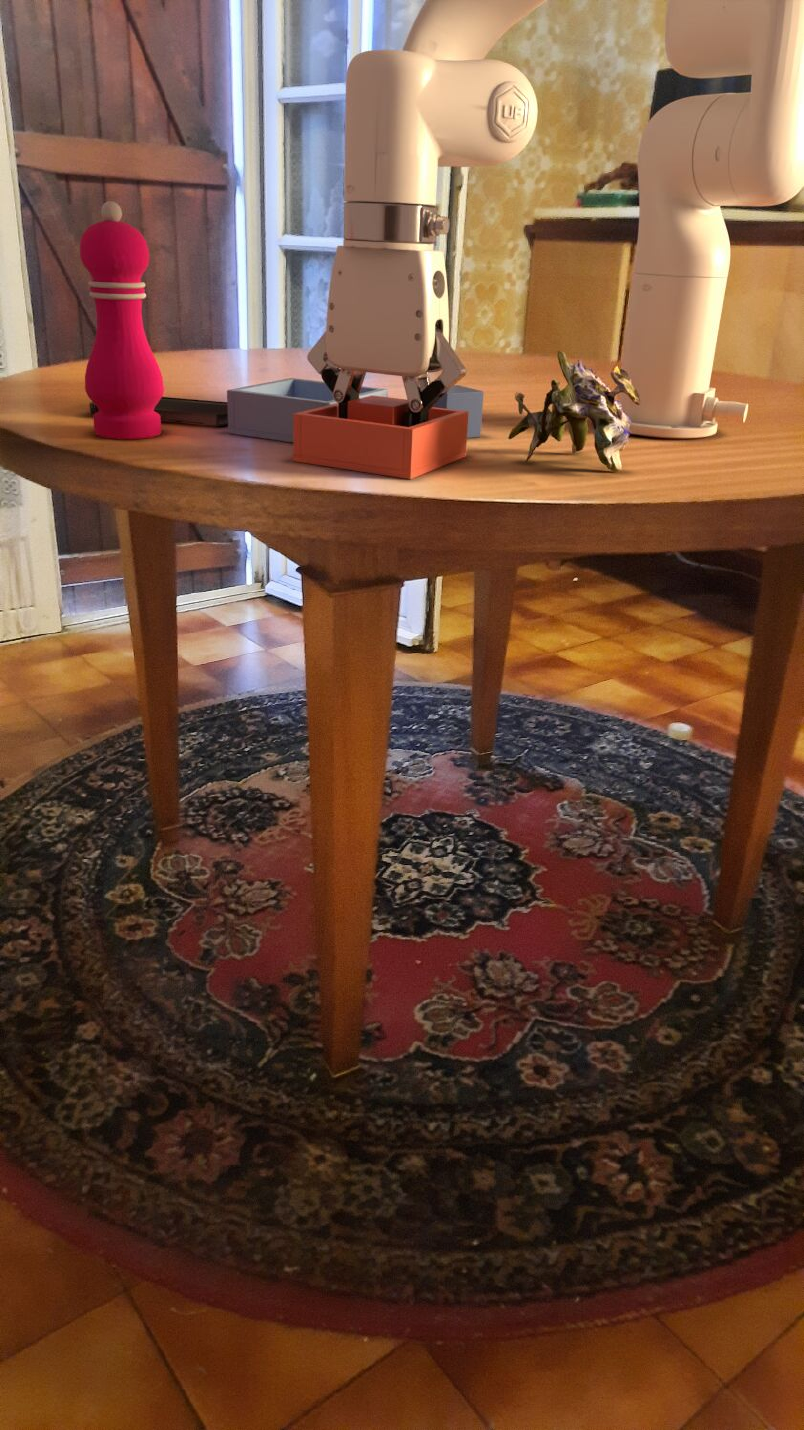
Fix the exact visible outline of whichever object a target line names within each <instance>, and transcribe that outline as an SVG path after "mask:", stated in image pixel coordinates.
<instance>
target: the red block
mask: <svg viewBox="0 0 804 1430" xmlns="http://www.w3.org/2000/svg"><path fill="white" fill-rule="evenodd" d="M408 410H409V403H408V399H407V398H406V399H404V398H398V397H397V398H396V397H389V396H388V397H381V396H373V395H372V396H368V397H364V398H360V399H356V400H351V401H348V419H351V420H358V421H366V422H373V423H381V424H388V425H396V426H402V422H403V413H404V412H405V411H408Z"/></svg>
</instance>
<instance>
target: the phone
mask: <svg viewBox="0 0 804 1430" xmlns="http://www.w3.org/2000/svg"><path fill="white" fill-rule="evenodd" d="M97 412H99V409H98V407H97V406H96V405H95V404H94V403H93V402H92V401H89V413H90V415H91V416H93V415H94V414H95V413H97ZM154 412H157V413H158V414H159V415H160V416H161V422H166V423H179V424H190V425H200V426H201V425H202V426H212V427H213V426H214V427H215V426H216V427H219V426H228V407H227V401H218V400H207V399H195V398H183V397H171V396H170V397H169V396H162V398H161V399H160V401H159V402H158V403H157V405H156V406H155V408H154Z"/></svg>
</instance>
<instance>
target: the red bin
mask: <svg viewBox="0 0 804 1430" xmlns="http://www.w3.org/2000/svg"><path fill="white" fill-rule="evenodd" d="M359 399H360V398H359ZM468 415H469V412H468V411H460V410H453V409H445V408H436V407H432V408H431V409H429V416H428V421H427V422H423V423H420V424H417V425H414V426H411V427H403V426H396V425H388V424H381V423H373V422H366V421H358V420H351V419H343V418H338V403H335V404H331V405H327V406H323V407H319V408H315V409H311V410H307V411H302V412H298V413H294V414H293V443H292V445H293V446H292V447H293V449H292V450H293V455H292V461H293V462H296V463H304V464H310V465H315V466H316V465H317V466H322V467H329V468H336V469H341V470H346V471H347V470H348V471H353V472H354V471H355V472H359V473H361V472H362V473H368V474H373V475H380V476H387V477H393V478H400V479H405V480H412V479H414V478H417V477H419V476H422V475H424V474H427V473H429V472H431V471H434V470H437V469H439V468H442V467H443V466H446V465H448V464H449V465H450V464H451V463H453V462H456V461H458V460H460V459H463V458H465V457H466V456H467V445H468V444H467V442H468V438H467V430H468Z"/></svg>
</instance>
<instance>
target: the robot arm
mask: <svg viewBox="0 0 804 1430" xmlns="http://www.w3.org/2000/svg"><path fill="white" fill-rule="evenodd" d="M547 1H548V0H425V2H424V3H423V5H422V6H421V8H420V10H419V12H418V14H417V16H416V17H415V19H414V21H413V23H412V26H411V28H410V30H409V32H408V35H407V37H406V40H405V43H404V44H403V47H402V49H374V50H372V49H371V50H365V51H363V52H362V51H361V52H360V53H357V54H356V55H354V56H353V58H351V60H350V62H349V64H348V67H347V70H346V77H345V115H344V116H345V118H344V119H345V120H344V122H345V123H344V126H345V127H344V178H343V179H344V181H343V182H344V183H343V184H344V186H343V201H344V203H343V245H337V246H336V250H335V255H334V259H333V264H332V269H331V275H330V282H329V289H328V290H329V291H328V300H327V310H326V328H325V331H324V333H323V334H322V335H321V337H320V338H319V339H317V341H316V343H315V344H314V345H313V347H312V348H311V349H310V350H309V352H308V353H307V357H306V359H307V362H308V363H309V364H310V365H311V366H312V367H313V369H314V370H315V371H316V373H317V374H318V375H320V376H321V379H322V382H325V384H326V385H327V386H328V388H329V389H330V390H331V392H332V393H333V399H334V401H336V402H337V403H338V418H343V419H348V401H351V400H356V399H359V393H360V390H361V387H362V386H363V384H364V381H365V377H366V374H367V373H369V374H379V375H387V376H397V377H401V379H402V383H403V387H404V390H405V395H406V400H408V403H409V410H408V411H405V412H404V413H403V422H402V426H403V427H411V426H414V425H417V424H420V423H423V422H427V421H428V416H429V409H431V408H432V407H433V406H434V405H435V403H436V402H437V401H438V400H439V399H440V398H441V397H442V396H443V395H444V394H445V393H446V392H447V391H448V390H449V389H450V388H451V387H453V386H454V385H457V383H459V382H460V381H461V380H462V379H463V378H464V377H465V376H466V375H467V368H466V367H465V365H464V363H463V362H462V361H461V359H460V357H459V356H458V355H457V353H456V352H455V350H454V349H453V347H452V346H451V343H450V341H449V340H450V317H449V316H450V315H449V313H450V312H449V294H448V293H449V292H448V280H447V270H446V262H445V256H444V251H443V250H434V248H435V247H434V245H435V244H434V243H436V242H437V237H439V236H440V235H445V236H446V235H447V234H448V233H449V231H450V219H449V217H448V216H444V215H443V216H441V215H440V214H439V213H438V207H435V206H436V205H437V188H438V187H437V186H438V171H439V170H438V168H444V167H445V168H446V167H447V168H448V167H459V168H472V167H473V168H476V167H479V168H481V167H483V168H484V167H491V166H492V167H493V166H497V165H501V164H503V163H506V162H508V161H510V160H512V159H513V158H515V157H516V156H518V155H519V154H520V153H522V151H523V150H524V149H525V148H526V147H527V146H528V144H529V142H530V141H531V139H532V137H533V135H534V132H535V131H536V126H537V121H538V113H539V112H538V111H539V110H538V100H537V96H536V93H535V90H534V87H533V86H532V84H531V82H530V80H529V79H528V78H527V76H526V75H525V74H524V73H523V72H521V70H520V69H518V68H517V67H515V66H513V65H512V64H510V63H507V62H505V61H502V60H499V59H493V58H491V59H489V58H488V59H487V58H486V56H487V55H488V53H489V52H490V51H491V50H492V49H493V47H494V46H495V44H497V42H498V41H499V40H500V39H501V38H502V37H503V36H504V35H505V34H506V33H507V32H508V31H509V30H510V29H511V28H512V27H513V26H514V25H515V24H517V23H518V22H519V21H521V20H522V19H523V18H525V17H526V16H528V15H529V14H530V13H531V12H533V11H534V10H536V9H537V8H539V7H540V6H542V5H543V4H544V3H546V2H547ZM665 13H666V14H665V29H664V31H665V32H664V46H665V47H664V48H665V54H666V59H667V61H668V63H669V65H670V67H671V68H672V70H674V72H676V73H678V74H679V75H681V76H682V77H683V76H684V77H687V78H690V79H691V78H693V79H713V78H714V79H715V78H716V79H717V78H726V77H738V76H739V77H740V76H750V75H751V78H750V79H751V80H750V91H748V92H724V93H723V92H722V93H712V94H711V93H710V94H699V95H692V96H687V97H683V98H680V99H676V100H674V101H672V102H669V103H668V104H666V105H664V106H663V107H661V108H660V109H659V110H657V112H656V113H655V114H653V116H652V117H651V118H650V120H649V121H648V123H647V124H646V126H645V128H644V130H643V132H642V135H641V137H640V140H639V146H638V152H637V178H638V179H637V181H638V199H639V200H638V201H639V202H638V204H639V208H638V209H639V210H638V211H639V212H638V213H639V214H638V231H637V243H636V250H635V251H636V252H635V259H634V260H635V261H634V266H633V267H634V268H633V273H632V281H631V290H630V296H629V305H628V312H627V320H626V327H625V335H624V344H623V351H622V359H621V365H620V366H621V367H620V369H624V370H625V371H626V372H627V373H628V377H629V378H630V379H631V382H632V384H633V386H634V387H635V389H636V390H637V392H638V394H639V397H640V401H641V404H640V405H637V404H635V403H634V402H633V401H632V400H631V399H630V398H629V396H628V395H627V394H625V393H623V392H621V393H618V394H617V396H616V397H617V398H616V400H617V401H620V404H621V405H622V410H623V413H624V414H626V415H628V416H629V420H631V425H630V426H629V430H630V433H629V434H630V435H635V436H640V437H641V436H642V437H651V438H662V439H663V438H664V439H699V438H707V437H711V436H713V435H715V434H717V431H718V422H717V420H716V419H719V420H726V421H729V422H737V423H745V421H746V420H747V416H748V411H749V403H746V402H739V401H731V400H728V401H726V400H719V397H716V396H715V395H716V387H710V385H711V384H710V383H711V377H712V373H713V366H714V360H715V354H716V347H717V342H718V335H719V330H720V323H721V317H722V311H723V305H724V299H725V294H726V287H727V281H728V278H729V277H728V276H729V272H730V271H729V270H730V263H731V242H730V237H729V233H728V229H727V226H726V222H725V219H724V217H723V213H722V209H721V207H723V206H725V207H771V206H777V205H781V204H783V203H786V202H788V201H789V200H791V199H793V198H794V197H795V196H797V195H798V194H799V192H800V191H801V190H802V189H803V188H804V0H667V1H666V12H665ZM440 371H441V373H440V374H439V375H438V376H437V378H435V379H434V380H432V381H431V379H430V373H431V374H432V373H437V372H440Z"/></svg>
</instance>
